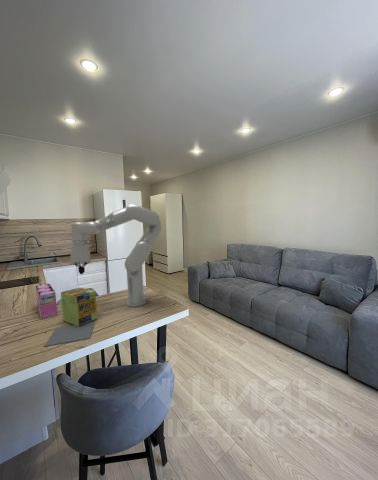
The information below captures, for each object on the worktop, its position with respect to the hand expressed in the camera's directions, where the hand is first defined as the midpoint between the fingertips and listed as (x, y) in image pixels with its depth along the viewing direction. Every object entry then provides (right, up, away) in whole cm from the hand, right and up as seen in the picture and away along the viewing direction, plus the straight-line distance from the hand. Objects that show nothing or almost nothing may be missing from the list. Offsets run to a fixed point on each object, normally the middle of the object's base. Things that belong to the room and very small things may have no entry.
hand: (81, 273), depth 126 cm
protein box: (+6, -23, -13) cm, 27 cm away
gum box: (-21, -23, +1) cm, 31 cm away
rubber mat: (+9, -24, -26) cm, 37 cm away
